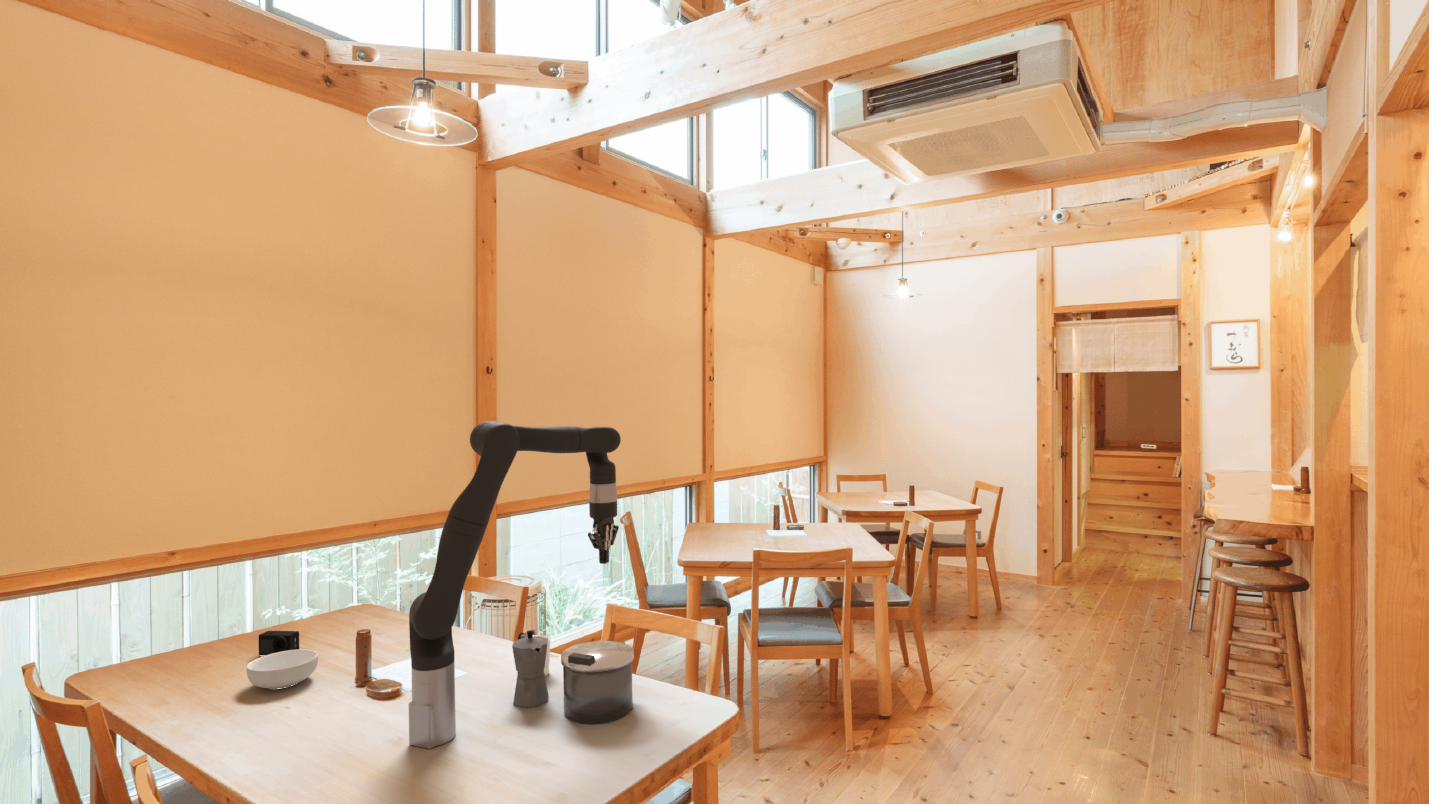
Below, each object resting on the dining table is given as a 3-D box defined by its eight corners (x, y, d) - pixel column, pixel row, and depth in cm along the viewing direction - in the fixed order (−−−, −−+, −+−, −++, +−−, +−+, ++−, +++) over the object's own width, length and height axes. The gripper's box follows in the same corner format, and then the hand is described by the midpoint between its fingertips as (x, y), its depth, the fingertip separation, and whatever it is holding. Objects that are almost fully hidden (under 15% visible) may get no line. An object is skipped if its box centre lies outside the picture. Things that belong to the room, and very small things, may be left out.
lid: (611, 676, 161) (611, 662, 161) (546, 666, 168) (546, 653, 168) (647, 650, 179) (647, 638, 179) (587, 642, 185) (587, 630, 185)
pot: (611, 729, 162) (610, 678, 162) (550, 717, 168) (549, 668, 168) (647, 696, 179) (647, 650, 179) (591, 687, 186) (590, 642, 186)
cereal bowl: (331, 673, 198) (331, 648, 198) (290, 698, 182) (290, 671, 182) (277, 671, 200) (276, 647, 200) (231, 696, 183) (230, 670, 183)
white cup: (546, 680, 191) (546, 644, 191) (518, 680, 191) (517, 644, 191) (553, 669, 199) (553, 634, 199) (526, 669, 199) (526, 634, 199)
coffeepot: (557, 704, 175) (556, 634, 175) (521, 714, 170) (520, 641, 170) (537, 684, 188) (536, 618, 188) (502, 692, 183) (501, 625, 183)
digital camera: (255, 658, 211) (254, 636, 211) (268, 652, 216) (268, 630, 216) (287, 659, 210) (286, 636, 210) (299, 653, 215) (299, 630, 215)
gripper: (602, 503, 180) (603, 569, 180) (627, 496, 193) (628, 558, 193) (578, 502, 183) (579, 567, 183) (603, 495, 195) (604, 556, 195)
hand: (604, 562), depth 188 cm, fingers closed
